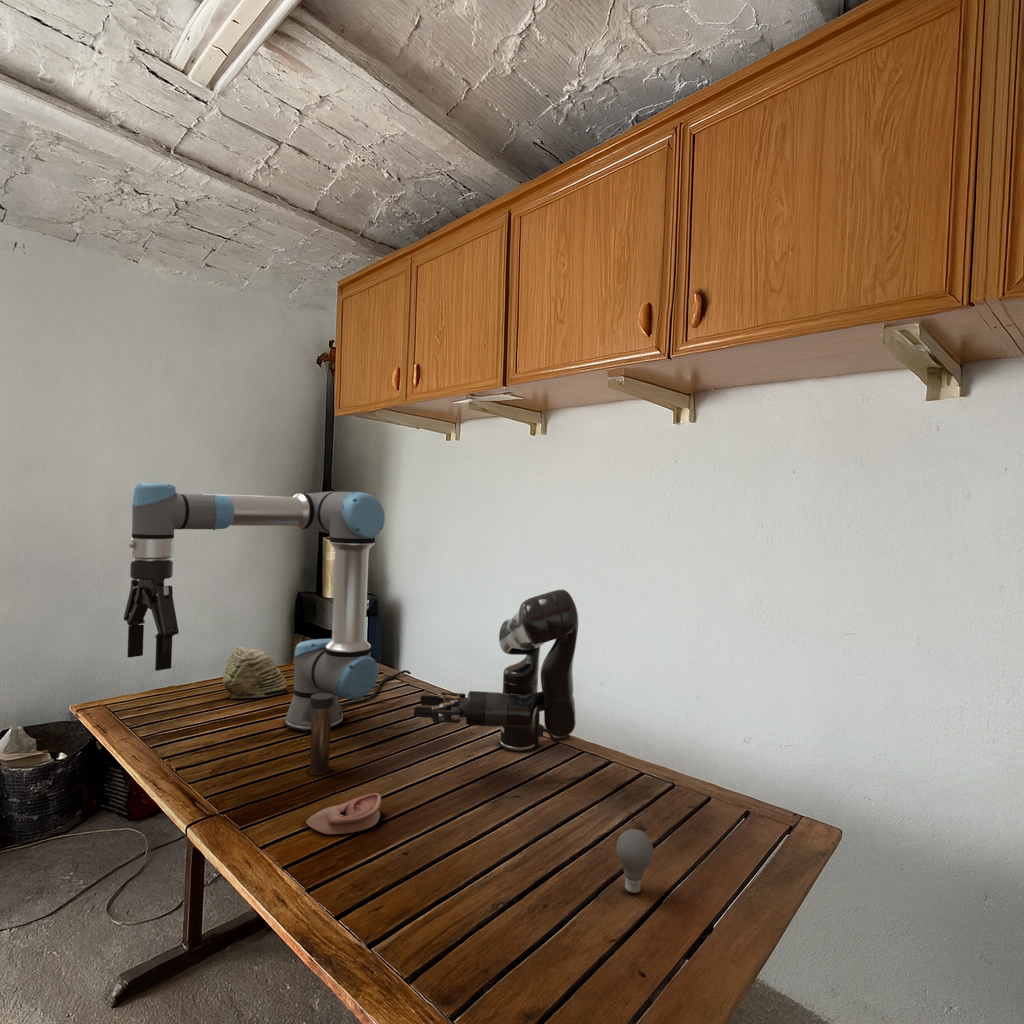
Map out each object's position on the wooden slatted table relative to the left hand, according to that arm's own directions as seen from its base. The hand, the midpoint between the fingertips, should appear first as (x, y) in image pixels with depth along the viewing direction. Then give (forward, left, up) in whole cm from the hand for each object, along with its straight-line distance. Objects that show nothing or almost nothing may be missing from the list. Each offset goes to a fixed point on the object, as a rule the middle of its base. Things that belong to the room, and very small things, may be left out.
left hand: (148, 662), depth 129 cm
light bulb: (-41, +90, -28) cm, 103 cm away
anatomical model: (-22, +37, -28) cm, 51 cm away
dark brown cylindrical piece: (-32, +14, -28) cm, 45 cm away
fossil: (-50, -47, -28) cm, 74 cm away
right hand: (-45, +32, -12) cm, 57 cm away
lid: (-32, +14, -11) cm, 37 cm away
